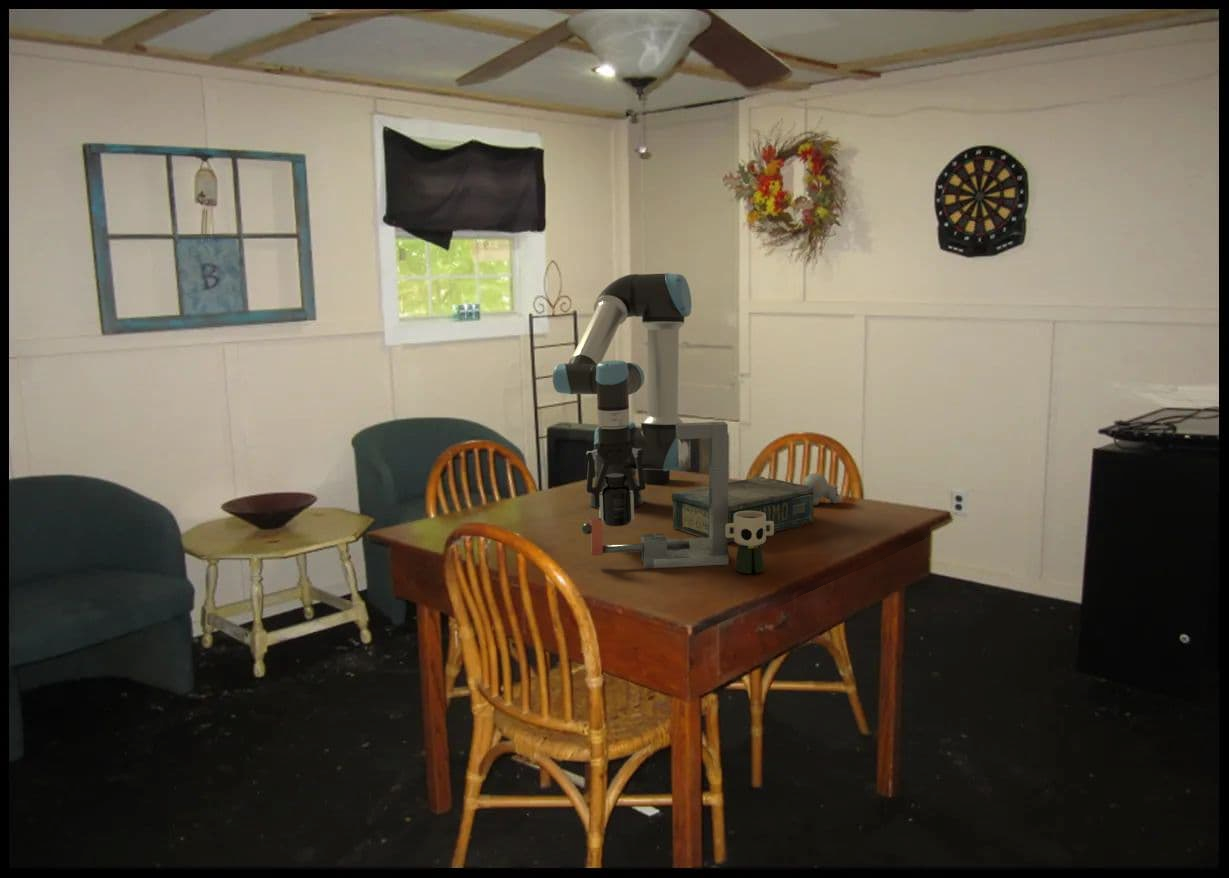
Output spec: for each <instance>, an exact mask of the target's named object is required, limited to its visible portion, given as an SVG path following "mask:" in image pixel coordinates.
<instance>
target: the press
mask: <svg viewBox="0 0 1229 878" xmlns="http://www.w3.org/2000/svg"><path fill="white" fill-rule="evenodd" d="M728 426H729V425H728V423H727V422H725V421H709V422H708V421H707V422H706V421H705V422H683V423H676V437H677V438H678V469H679V470H681V471H682V470H683V471H686V470H691V440H695V439H697V440H698V439H708V486H709V537H703V538H701V537H685V538H683V537H682V538H666V537H665V535H664V533H653V534H651V533H650V534H641V536H640V537H641V544H644V552H641V562H642V564H643V567H644V569H660V568H664V569H665V568H680V567H681V568H683V567H699V566H700V567H701V566H721V565H722V566H723V565H724V566H725V565H729V543H728V538H726V536H725V526H726V524H728V483H729V480H728V479H729V474H728V473H729V466H728V463H729V460H728V459H729V458H728V457H729V456H728V455H729V454H728V453H729V450H728V448H729V447H728V444H729V443H728V442H729V441H728V440H729V439H728V438H729V437H728V434H729V431H728V430H729V429H728V428H729V427H728ZM687 541H689V545H690V548H689V549H686V550H667V542H687Z"/></svg>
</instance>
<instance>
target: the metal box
mask: <svg viewBox="0 0 1229 878" xmlns="http://www.w3.org/2000/svg"><path fill="white" fill-rule="evenodd" d="M813 494H814V490H813V487H810V486H806V485H802V483H801V484H800V483H794V482H791V481H786V480H783V479H775V478H767V477H766V478H765V476H757V477H752V478H747V479H740V480H734V481H730V482H729V481H728V523H734V513H736V512H739V511H759V512H763V513H765V514H766V521H773V522H774V533H777V532H781V531H786V530H790V529H793V528H794V527H795V528H798V527H797V526H799V527H802V525H803V526H806V525H810V524H809V523H811V524H813V523H814V521H815V520H814V517H815V516H814V513H815V511H814V509H815V507H814V505H813V502H814V497H813ZM670 498H671V501H672V502H671V503H672V528H673V529H674V530H675V531H681V532H684V533H686V534H689V535H692V536H696V537H697V538H703V537H709V485H708V486H702V487H699V488H693V489H692V488H691V489H687V490H681V491H674V492H671V494H670ZM805 524H806V525H805ZM785 529H786V530H785ZM767 531H770V525H766V532H767ZM776 531H777V532H776ZM732 533H734V527H730V534H732ZM733 542H734V543H736V542H735V541H734V538H728V544H731V543H733Z"/></svg>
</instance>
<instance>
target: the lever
mask: <svg viewBox="0 0 1229 878" xmlns="http://www.w3.org/2000/svg"><path fill="white" fill-rule="evenodd" d="M581 532H582V533H583V534H585V535H590V547H591V549H590V552H591V556H593V557H594V556H596V557H597V556H603V555H604V554H618V553H619V554H620V553H622V554H624V553H642V552H644V544H642V543H626V544H607V545H604V544H603V521H602V520H601V518H600V517H596V518H590V522H585V523H583V524H582V526H581ZM689 548H690V545H689V541H687V542H667V550H686V549H689Z"/></svg>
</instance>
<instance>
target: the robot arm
mask: <svg viewBox="0 0 1229 878" xmlns="http://www.w3.org/2000/svg"><path fill="white" fill-rule="evenodd" d="M691 313H692V295H691V289H690V287H689V284H688V281H687V279H686V277H684V275H682V274H679V273H668V272H667V273H666V272H665V273H646V274H645V273H643V274H642V273H641V274H640V273H639V274H638V273H635V274H633V273H632V274H628V275H627V274H626V275H624V276H621V277H619V278H617V279H616V280H614V281H613V282H611V283H610V284H609V285H607V286H606V287H605V288H604V289H602V291H601V292H600V294H599V295H598V296H597V299H596V300H595V302H594V304H593V314H592V317H591V318H590V320H589V322H588V325H587V326H586V328H585V330H584V331H583V334H582V335H581V338H580V340H579V342H578V344H577V346H576V348H575V350H574V352H573V354H572V356H571V358H570V359H569V361H568V363H566V362H564V363H559V364H556V365H555V367H554V368H553V371H552V384H553V388H554V390H555V391H556V392H557V393H558V394H567V395H568V394H569V395H596V398H597V399H596V400H597V424H598V427H596V429H595V431H594V442H593V450H587V451H586V453H585V454H586V457H587V461H588V462H587V475H586V492H587V493H588V494H590V495H589V505H590V506H591V507H592V508H595V509H598V511H599V515H598V516H599V518H601V520H602V522H603V521H604V520H603V495H602V489H603V487H604V486H606V483H605V481H606V480H605V476H606V475H608V474H613V473H621V474H624V475H625V480H626V482H625V485H627V486H628V487H629V489H630V507H631V521H632V520H635V508H639V507H640V506H642V505H643V503H644V502H643V496H644V495H643V493H642V491H643V490H645V489H646V484H645V481H644V473H643V469H646V470H664V471H667V470H670V471H679V470H680V469H678V438H677V437H676V423H684V422H683V420H682V419H681V418H680V417H679V415H678V414H679V413H678V411H679V345H680V344H679V342H680V341H679V340H680V339H679V337H680V336H679V333H680V332H679V331H680V328H682V326H684V325H685V318H688V317H689V316H691ZM633 317H636V318H637V317H641V318H642V319H641V323H642V325H643V326H644V327H645V328H646V329H647V349H646V350H647V352H646V353H647V358H646V359H647V363H646V364H647V366H646V369H647V370H646V372H647V373H646V379H647V380H646V384H647V385H646V416H645V417H644V419H643V420H641V422H640V423H641V425H640V427H636V422H634V421H630V405H629V403H630V400H629V399H630V395H633V394H635V393H636V392H638V391H639V390H640V389H641V388H642V386H643V384H644V382H645V373H644V371H643V369H642V367H641V366H640V365H638V364H637V363H635V362H625V360H624V361H623V360H617V359H616V360H604V358H605V355H606V353H607V351H608V349H609V348H610V345H611V343H612V341H613V339H614V336H615V335H616V333H617V330H618V328H619V326H620V325H622V324H624V322H625V321H626V320H627V318H633ZM603 360H604V361H603ZM593 481H594V482H593Z"/></svg>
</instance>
